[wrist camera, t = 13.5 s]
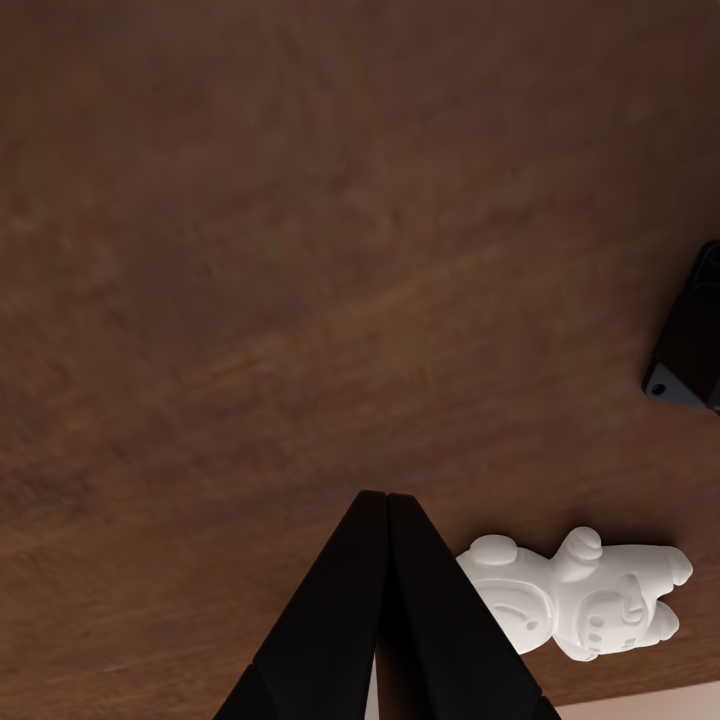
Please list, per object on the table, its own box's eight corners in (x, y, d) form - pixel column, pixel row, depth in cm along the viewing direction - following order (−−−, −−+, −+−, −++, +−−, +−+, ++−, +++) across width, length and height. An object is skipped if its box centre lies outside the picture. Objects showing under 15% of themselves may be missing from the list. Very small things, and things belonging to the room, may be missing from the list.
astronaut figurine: (656, 644, 28) (684, 702, 25) (435, 636, 29) (439, 691, 26) (695, 522, 24) (733, 575, 21) (439, 518, 25) (444, 568, 22)
